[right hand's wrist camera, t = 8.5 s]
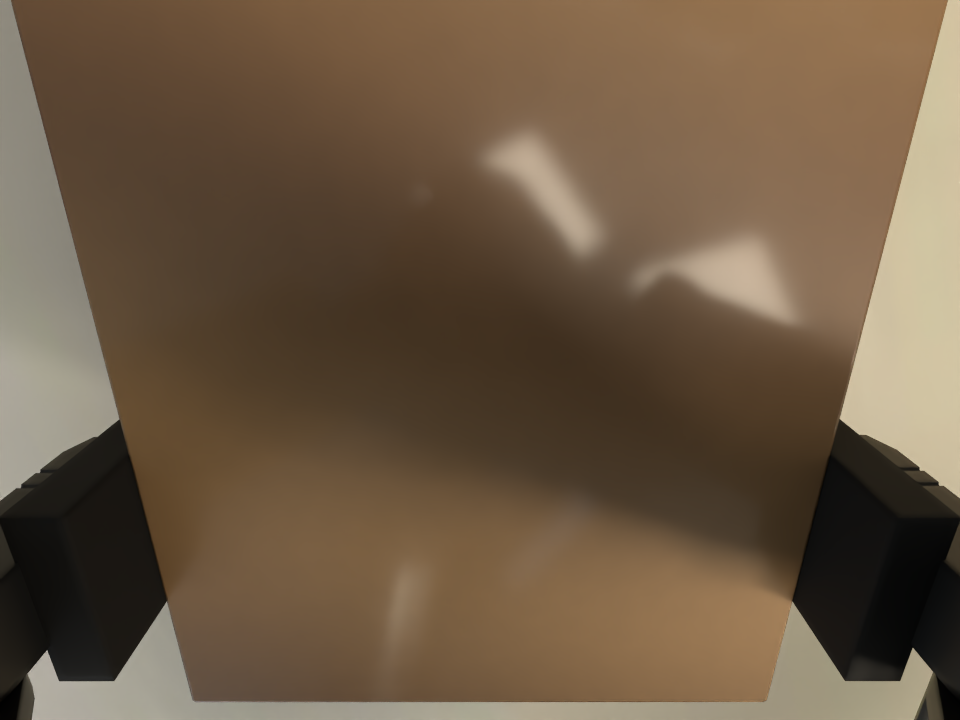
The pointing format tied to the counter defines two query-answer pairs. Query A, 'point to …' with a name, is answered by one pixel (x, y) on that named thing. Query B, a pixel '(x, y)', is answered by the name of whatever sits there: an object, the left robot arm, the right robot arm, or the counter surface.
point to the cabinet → (479, 322)
